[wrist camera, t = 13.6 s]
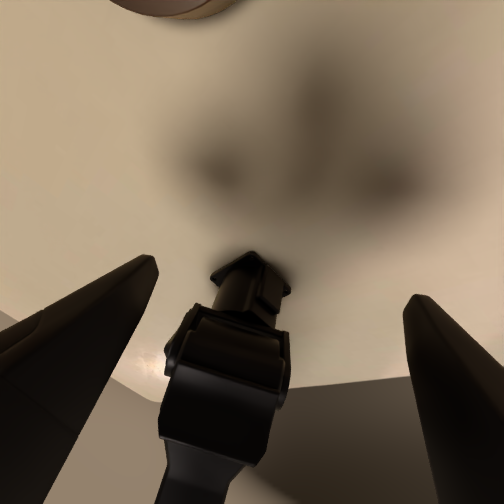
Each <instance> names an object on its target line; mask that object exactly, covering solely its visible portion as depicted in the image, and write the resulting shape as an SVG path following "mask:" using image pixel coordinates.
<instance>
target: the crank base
mask: <svg viewBox="0 0 504 504" xmlns="http://www.w3.org/2000/svg"><path fill="white" fill-rule="evenodd" d="M110 1H111V2H113V3H115V4H117V5H119V6H121V7H123V8H125V9H127V10H130V11H133V12H136V13H139V14H142V15H147V16H154V17H163V18H174V19H199V18H203V17H208V16H211V15H213V14H216V13H218V12H220V11H222V10H224V9H225V8H227V7H229V6H230V5H232V4H233V3H235V2H236V1H237V0H110Z"/></svg>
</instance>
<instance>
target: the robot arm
mask: <svg viewBox="0 0 504 504" xmlns="http://www.w3.org/2000/svg"><path fill="white" fill-rule="evenodd" d="M250 256H252V257H253V258H252V257H250ZM158 276H159V271H158V268H157V264H156V261H155V258H154V257H153V256H151V255H144V254H143V255H140V256H138V257H136V258H135V259H133V260H131V261H129V262H127V263H125V264H124V265H122V266H120V267H118V268H116V269H115V270H113V271H111V272H109V273H107V274H106V275H104V276H102V277H100V278H98V279H97V280H95V281H93V282H91V283H89V284H87V285H86V286H84V287H82V288H80V289H78V290H77V291H75V292H73V293H71V294H69V295H68V296H66V297H64V298H62V299H60V300H59V301H57V302H55V303H53V304H51V305H49V306H48V307H46V308H44V310H40V311H39V312H37V313H35V314H33V315H31V316H29V317H28V318H26V319H24V320H22V321H20V322H18V323H16V324H15V325H13V326H11V327H9V328H7V329H5V330H3V331H1V332H0V504H43V502H44V500H45V498H46V497H47V494H48V493H49V491H50V489H51V487H52V485H53V483H54V481H55V480H56V478H57V476H58V474H59V472H60V470H61V468H62V466H63V465H64V463H65V461H66V459H67V457H68V455H69V453H70V451H71V450H72V448H73V446H74V444H75V442H76V440H77V438H78V435H79V434H80V432H81V430H82V429H83V427H84V425H85V423H86V421H87V419H88V417H89V415H90V414H91V412H92V410H93V408H94V406H95V404H96V402H97V400H98V398H99V396H100V394H101V393H102V391H103V389H104V387H105V385H106V383H107V382H108V380H109V378H110V376H111V374H112V372H113V370H114V368H115V367H116V365H117V363H118V361H119V359H120V357H121V355H122V353H123V351H124V350H125V348H126V346H127V344H128V342H129V340H130V338H131V336H132V335H133V333H134V331H135V329H136V327H137V325H138V323H139V321H140V320H141V318H142V316H143V314H144V311H145V309H146V307H147V304H148V302H149V299H150V297H151V294H152V292H153V289H154V287H155V284H156V282H157V279H158ZM210 280H211V281H212V282H213V283H215V284H216V285H217V286H218V287H219V290H218V293H217V296H216V298H215V301H214V303H213V306H212V308H207V307H204V306H201V304H198V303H195V305H194V306H193V308H192V309H190V310H189V312H187V313H186V315H185V317H184V319H183V321H182V323H181V325H180V327H179V328H178V330H177V331H176V332H175V334H174V335H173V336H172V337H171V339H170V340H169V341H168V342H167V344H166V345H165V348H164V353H165V355H166V358H167V359H166V366H165V371H164V375H165V376H169V377H171V378H170V381H169V383H168V386H167V389H166V392H165V395H164V398H163V401H162V404H161V407H160V414H159V417H158V432H159V438H160V439H163V440H164V443H165V450H166V457H167V467H166V470H165V473H164V476H163V479H162V482H161V485H160V488H159V491H158V494H157V497H156V500H155V503H154V504H224V502H225V498H226V495H227V491H228V487H229V484H230V482H231V481H232V480H233V479H234V478H235V477H236V476H237V475H238V473H239V472H240V471H241V470H242V469H243V468H244V467H245V466H246V465H247V466H250V467H255V466H256V465H257V464H258V462H259V461H260V460H261V458H262V457H263V455H264V454H265V452H266V448H267V443H268V438H269V432H270V428H271V425H272V421H273V417H274V413H275V410H277V411H279V410H280V409H281V408H282V406H283V404H284V401H285V398H286V395H287V392H288V388H289V382H290V375H291V360H290V341H289V332H286V331H280V330H277V329H275V324H276V317H277V314H279V313H280V306H281V299H282V298H283V297H285V296H287V295H289V294H290V293H291V288H290V287H289V286H288V285H287V284H286V283H285V282H284V280H283V279H282V278H281V277H280V276H279V275H278V274H277V273H276V272H275V271H274V270H273V269H272V268H271V267H270V266H268V265H267V264H266V263H265V262H264V261H263V260H262V259H261V258H260V257H259V256H258V255H257V254H256V253H255V252H248V253H247V254H245V255H243V256H242V257H240V258H238V259H236V260H235V261H233V262H231V263H230V264H228V265H226V266H225V267H223V268H221V269H220V270H218V271H216V272H214V273H213V274H212V275H211V277H210ZM285 290H287V291H285ZM403 324H404V335H405V345H406V355H407V362H408V367H409V372H410V376H411V381H412V385H413V390H414V394H415V398H416V403H417V408H418V412H419V417H420V422H421V426H422V431H423V435H424V440H425V444H426V449H427V453H428V458H429V462H430V467H431V471H432V475H433V480H434V485H435V490H436V494H437V499H438V503H439V504H504V367H503V366H502V365H501V364H500V363H498V362H497V361H496V360H495V359H494V358H493V357H492V356H491V355H490V354H489V353H488V352H487V351H486V350H485V349H484V348H483V347H482V346H481V345H480V344H479V343H478V342H477V341H475V340H474V339H473V338H472V337H471V336H470V335H469V334H468V333H467V332H466V331H465V330H464V329H463V328H462V327H461V326H460V325H459V324H458V323H457V322H456V321H455V320H454V319H452V318H451V317H450V316H449V315H448V314H447V313H446V312H445V311H444V310H443V309H442V308H441V307H440V306H439V305H438V304H437V303H436V302H435V301H434V300H433V299H432V298H430V297H429V296H427V295H420V294H414V295H413V296H412V297H411V298H410V300H409V302H408V303H407V305H406V307H405V308H404V311H403Z"/></svg>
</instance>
